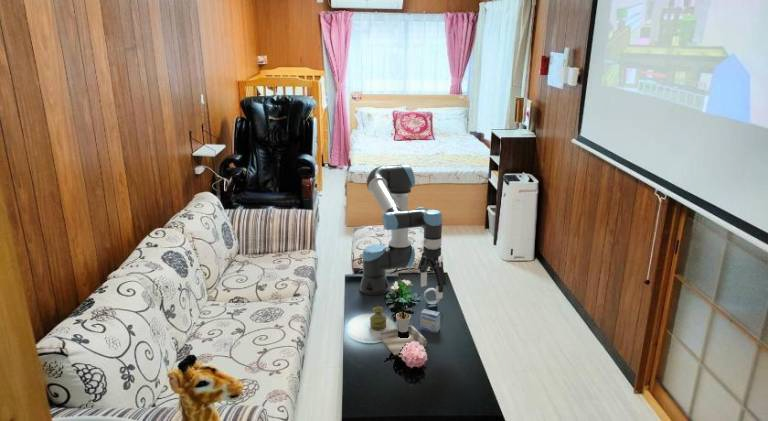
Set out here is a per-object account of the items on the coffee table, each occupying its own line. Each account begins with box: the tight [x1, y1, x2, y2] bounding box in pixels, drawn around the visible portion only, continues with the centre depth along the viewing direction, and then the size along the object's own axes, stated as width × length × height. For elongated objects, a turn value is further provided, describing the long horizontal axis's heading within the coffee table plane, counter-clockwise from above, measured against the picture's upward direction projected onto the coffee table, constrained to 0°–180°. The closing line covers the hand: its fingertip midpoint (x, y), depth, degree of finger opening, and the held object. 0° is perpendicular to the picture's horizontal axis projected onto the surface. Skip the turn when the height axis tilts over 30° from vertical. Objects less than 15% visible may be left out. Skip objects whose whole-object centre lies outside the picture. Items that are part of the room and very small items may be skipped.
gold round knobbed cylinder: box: [369, 305, 387, 332], centre depth 235 cm, size 7×7×10 cm
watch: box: [423, 287, 441, 312], centre depth 251 cm, size 6×8×11 cm
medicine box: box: [419, 308, 441, 334], centre depth 233 cm, size 8×4×9 cm, turn 65°
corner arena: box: [379, 324, 428, 356], centre depth 223 cm, size 14×15×4 cm
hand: (431, 292), depth 229 cm, fingers open, 13 cm apart
